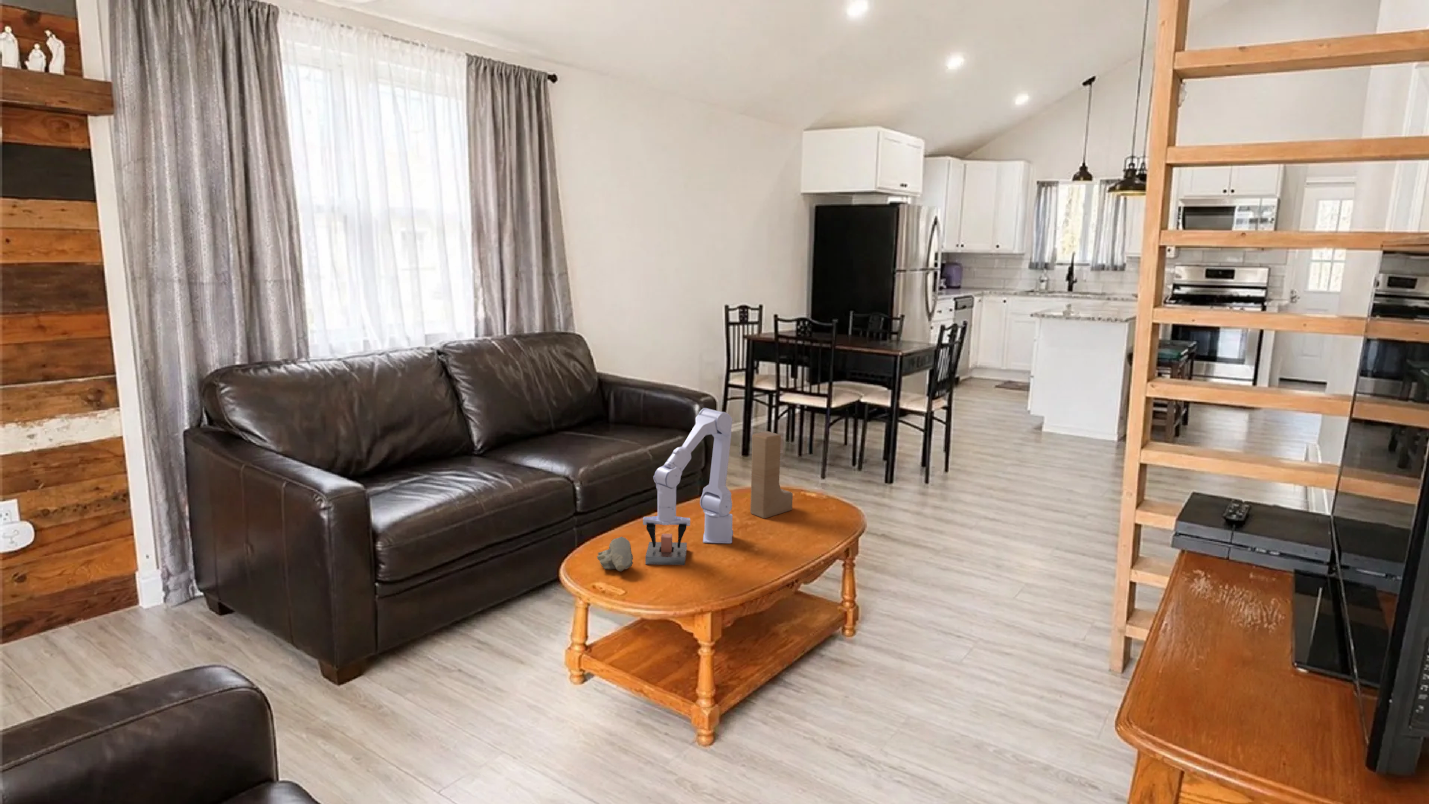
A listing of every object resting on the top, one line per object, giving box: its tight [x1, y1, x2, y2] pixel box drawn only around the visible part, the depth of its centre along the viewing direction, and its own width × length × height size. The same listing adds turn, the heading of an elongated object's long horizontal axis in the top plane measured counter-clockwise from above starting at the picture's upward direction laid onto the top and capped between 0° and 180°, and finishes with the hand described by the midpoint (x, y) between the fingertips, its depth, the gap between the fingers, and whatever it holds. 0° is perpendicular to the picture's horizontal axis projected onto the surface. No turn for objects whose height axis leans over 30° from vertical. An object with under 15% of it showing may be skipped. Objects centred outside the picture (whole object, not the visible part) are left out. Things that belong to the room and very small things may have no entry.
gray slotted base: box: [644, 541, 688, 566], centre depth 254 cm, size 12×12×2 cm
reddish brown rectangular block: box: [660, 533, 673, 552], centre depth 254 cm, size 3×3×7 cm
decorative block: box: [750, 430, 794, 519], centre depth 294 cm, size 8×15×30 cm, turn 132°
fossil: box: [596, 536, 634, 572], centre depth 245 cm, size 14×10×10 cm
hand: (666, 546), depth 254 cm, fingers open, 7 cm apart
